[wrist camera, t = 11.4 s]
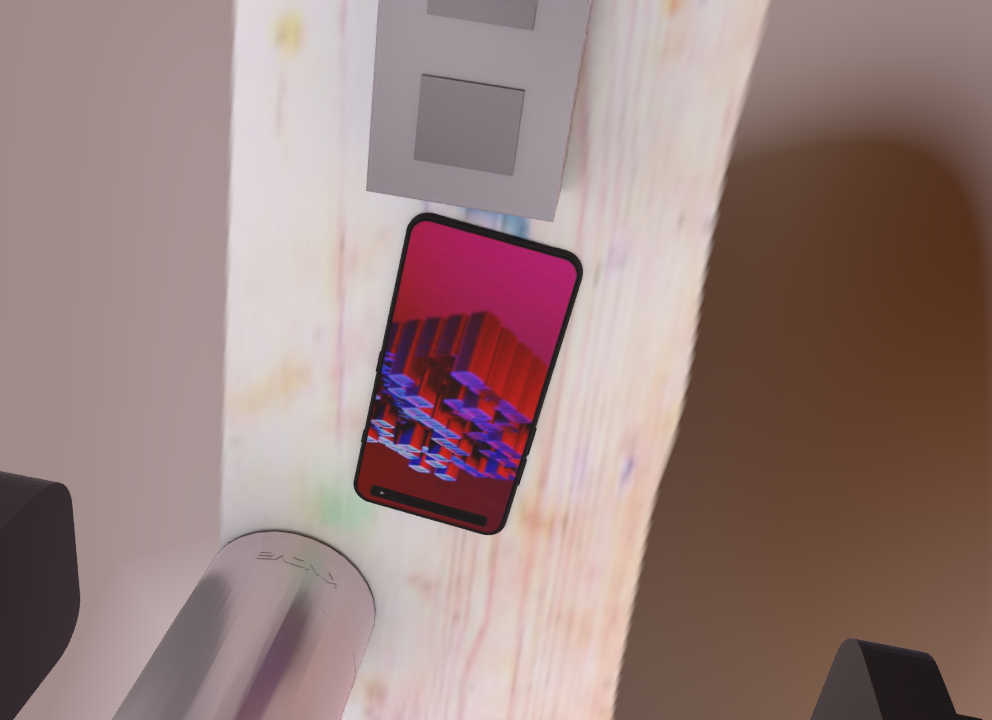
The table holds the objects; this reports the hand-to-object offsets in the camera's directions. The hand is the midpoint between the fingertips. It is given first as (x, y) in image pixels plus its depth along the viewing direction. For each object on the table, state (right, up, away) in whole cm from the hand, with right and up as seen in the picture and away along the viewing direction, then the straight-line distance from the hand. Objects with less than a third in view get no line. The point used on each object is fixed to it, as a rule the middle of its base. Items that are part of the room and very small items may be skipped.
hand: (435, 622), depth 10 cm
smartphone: (-1, +2, +33) cm, 33 cm away
